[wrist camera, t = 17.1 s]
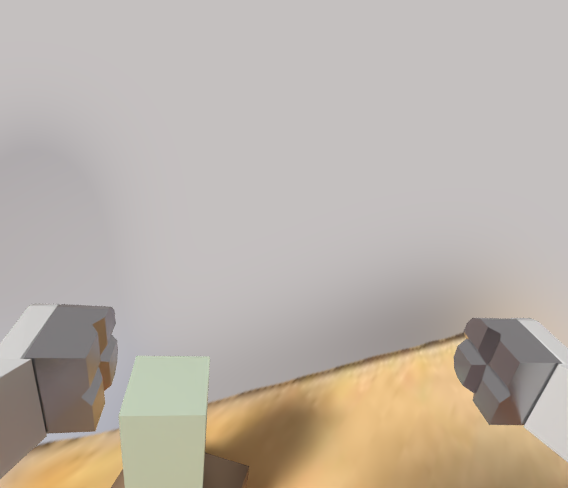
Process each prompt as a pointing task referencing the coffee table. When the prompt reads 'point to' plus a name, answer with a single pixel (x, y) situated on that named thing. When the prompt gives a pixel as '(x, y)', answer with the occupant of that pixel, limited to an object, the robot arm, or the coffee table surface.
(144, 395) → the sage block
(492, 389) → the robot arm
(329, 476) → the coffee table surface
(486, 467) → the coffee table surface
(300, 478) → the coffee table surface
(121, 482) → the walnut block
